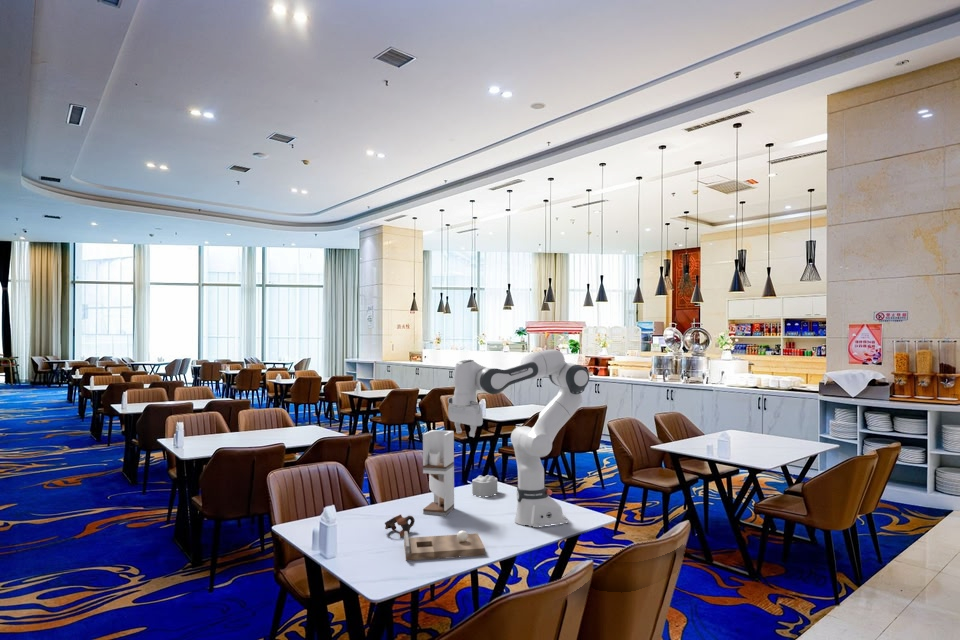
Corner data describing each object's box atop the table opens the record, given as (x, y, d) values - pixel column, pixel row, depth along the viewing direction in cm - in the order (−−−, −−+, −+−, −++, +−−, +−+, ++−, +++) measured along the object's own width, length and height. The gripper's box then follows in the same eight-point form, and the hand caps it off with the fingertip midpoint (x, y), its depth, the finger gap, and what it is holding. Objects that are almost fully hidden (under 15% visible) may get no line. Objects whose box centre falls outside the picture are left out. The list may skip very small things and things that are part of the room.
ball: (467, 539, 214) (467, 528, 215) (468, 543, 210) (468, 532, 211) (456, 540, 214) (456, 529, 214) (457, 543, 210) (457, 532, 210)
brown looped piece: (395, 541, 222) (386, 521, 224) (388, 545, 229) (379, 525, 232) (421, 527, 229) (412, 507, 231) (413, 531, 236) (405, 512, 238)
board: (477, 539, 221) (477, 526, 221) (485, 555, 205) (484, 541, 206) (404, 544, 216) (404, 531, 217) (406, 560, 201) (405, 546, 201)
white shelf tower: (432, 506, 266) (431, 430, 267) (454, 508, 263) (453, 431, 264) (423, 513, 255) (422, 434, 256) (446, 515, 252) (445, 435, 253)
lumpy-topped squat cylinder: (469, 494, 286) (469, 476, 286) (487, 489, 295) (487, 472, 295) (484, 498, 278) (484, 480, 279) (502, 493, 288) (502, 475, 288)
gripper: (486, 402, 226) (486, 437, 225) (458, 397, 242) (458, 430, 242) (473, 403, 222) (473, 439, 222) (445, 398, 239) (445, 432, 238)
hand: (465, 434), depth 232 cm, fingers open, 8 cm apart
